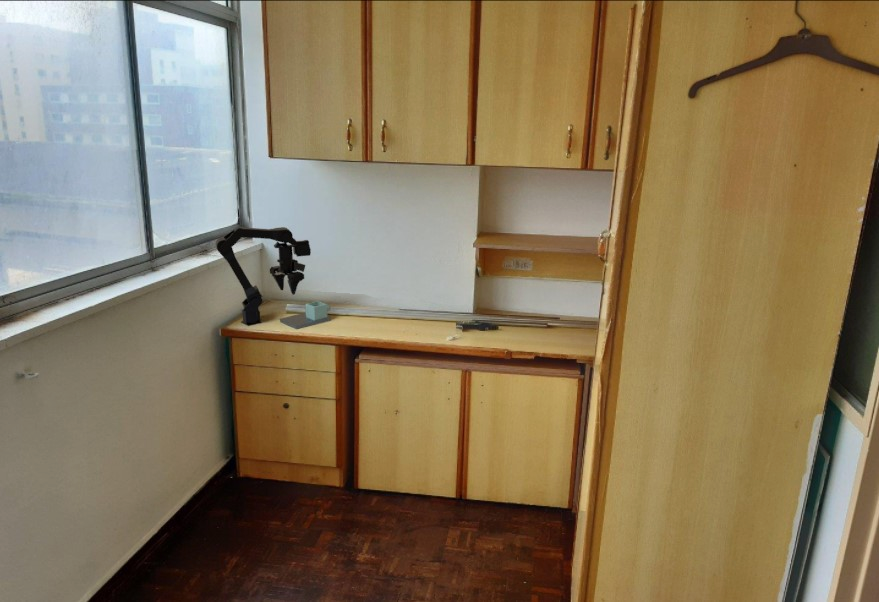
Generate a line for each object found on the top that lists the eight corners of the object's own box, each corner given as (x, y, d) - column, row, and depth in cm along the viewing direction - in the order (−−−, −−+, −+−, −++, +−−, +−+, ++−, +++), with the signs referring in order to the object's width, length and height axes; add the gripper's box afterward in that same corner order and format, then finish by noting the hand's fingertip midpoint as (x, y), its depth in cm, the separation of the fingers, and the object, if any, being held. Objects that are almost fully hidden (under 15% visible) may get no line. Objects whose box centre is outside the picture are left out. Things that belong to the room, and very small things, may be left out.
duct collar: (306, 317, 281) (305, 303, 279) (324, 312, 287) (324, 299, 286) (314, 320, 276) (314, 307, 275) (333, 315, 283) (333, 302, 281)
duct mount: (296, 329, 270) (295, 314, 268) (279, 321, 278) (279, 307, 277) (329, 320, 281) (329, 306, 279) (313, 313, 290) (312, 300, 288)
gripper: (314, 258, 274) (315, 293, 279) (290, 251, 287) (292, 284, 292) (291, 262, 267) (293, 298, 271) (268, 254, 280) (270, 289, 284)
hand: (287, 292), depth 280 cm, fingers open, 9 cm apart
